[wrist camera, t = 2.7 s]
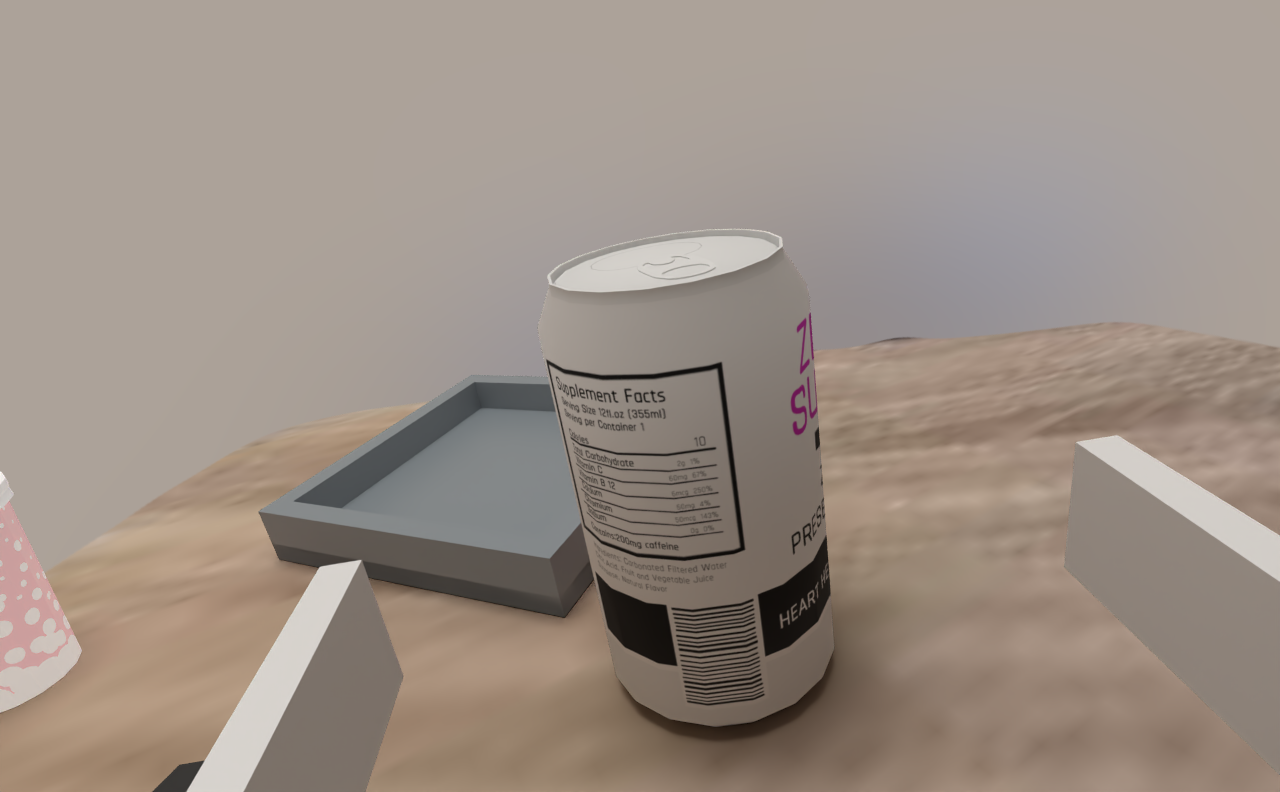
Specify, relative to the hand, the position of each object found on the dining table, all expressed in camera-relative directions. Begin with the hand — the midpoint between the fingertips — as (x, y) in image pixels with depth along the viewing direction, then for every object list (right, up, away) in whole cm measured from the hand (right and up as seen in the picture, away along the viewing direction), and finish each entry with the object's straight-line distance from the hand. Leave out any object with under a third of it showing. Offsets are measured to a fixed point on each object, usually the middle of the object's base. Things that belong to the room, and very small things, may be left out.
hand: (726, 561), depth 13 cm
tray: (-9, -2, +28) cm, 29 cm away
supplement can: (+2, -7, +14) cm, 15 cm away
